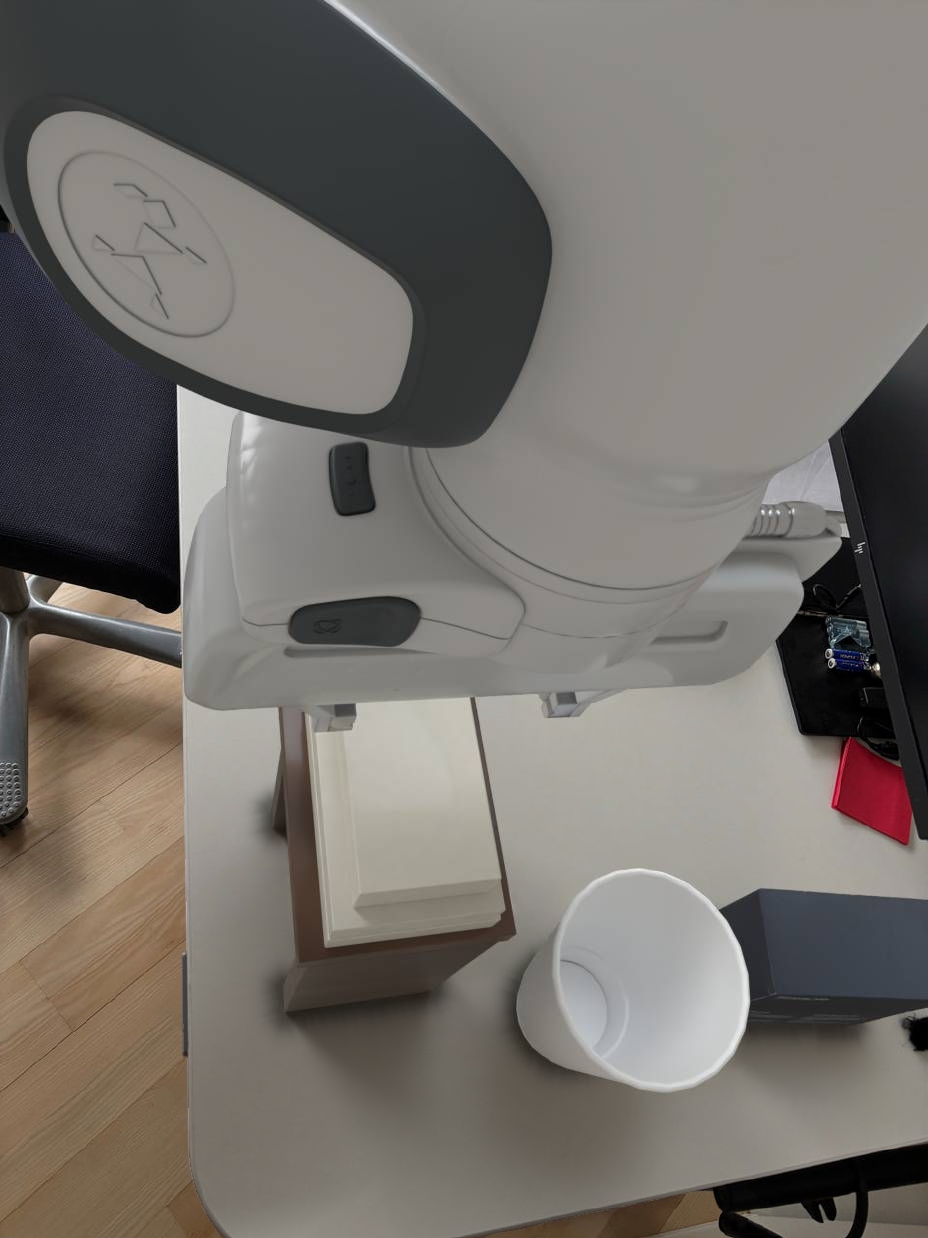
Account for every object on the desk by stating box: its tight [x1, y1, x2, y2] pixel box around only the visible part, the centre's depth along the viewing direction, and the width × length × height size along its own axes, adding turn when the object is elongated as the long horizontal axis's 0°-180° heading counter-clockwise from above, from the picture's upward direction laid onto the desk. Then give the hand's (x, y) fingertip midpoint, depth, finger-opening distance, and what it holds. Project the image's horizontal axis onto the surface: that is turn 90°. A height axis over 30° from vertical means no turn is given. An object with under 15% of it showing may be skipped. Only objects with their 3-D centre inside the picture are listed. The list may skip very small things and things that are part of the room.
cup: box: [515, 867, 750, 1094], centre depth 58 cm, size 12×12×16 cm
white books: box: [305, 713, 505, 948], centre depth 47 cm, size 13×8×4 cm, turn 9°
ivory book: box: [335, 697, 501, 908], centre depth 44 cm, size 11×6×3 cm, turn 9°
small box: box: [718, 887, 928, 1026], centre depth 64 cm, size 13×7×12 cm, turn 90°
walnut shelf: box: [271, 697, 518, 1013], centre depth 57 cm, size 14×11×20 cm
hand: (447, 707), depth 37 cm, fingers open, 8 cm apart
